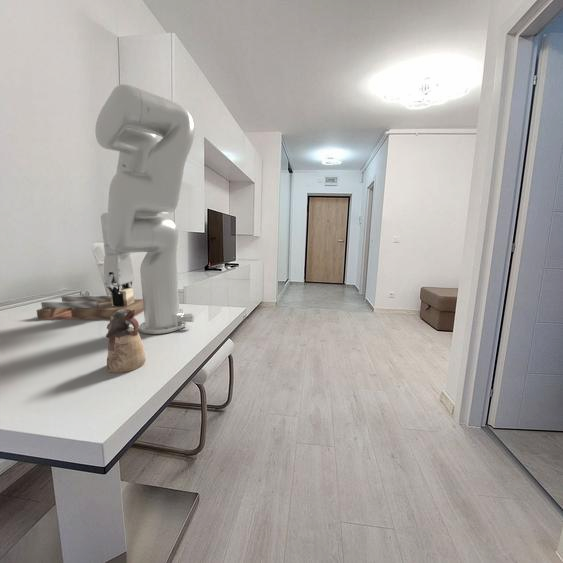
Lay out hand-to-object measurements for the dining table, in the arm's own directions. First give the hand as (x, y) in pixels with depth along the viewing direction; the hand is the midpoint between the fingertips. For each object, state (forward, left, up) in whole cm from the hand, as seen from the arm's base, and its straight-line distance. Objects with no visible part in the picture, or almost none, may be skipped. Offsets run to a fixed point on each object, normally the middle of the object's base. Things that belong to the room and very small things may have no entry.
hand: (123, 302), depth 98 cm
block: (0, 0, 0) cm, 0 cm away
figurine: (-22, +40, -4) cm, 46 cm away
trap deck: (+9, 0, -3) cm, 10 cm away
